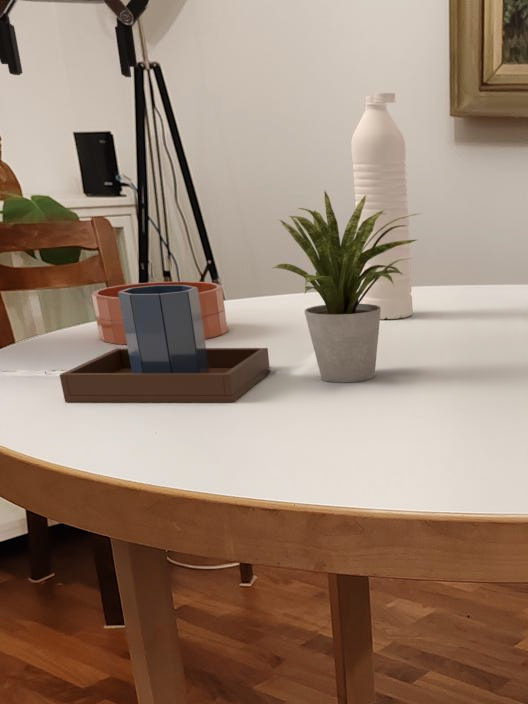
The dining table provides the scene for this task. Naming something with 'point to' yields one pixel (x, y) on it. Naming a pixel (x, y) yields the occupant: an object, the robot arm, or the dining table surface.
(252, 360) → the tray
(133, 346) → the cup
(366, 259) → the house plant
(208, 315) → the bowl
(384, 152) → the water bottle
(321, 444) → the dining table surface
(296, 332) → the dining table surface
